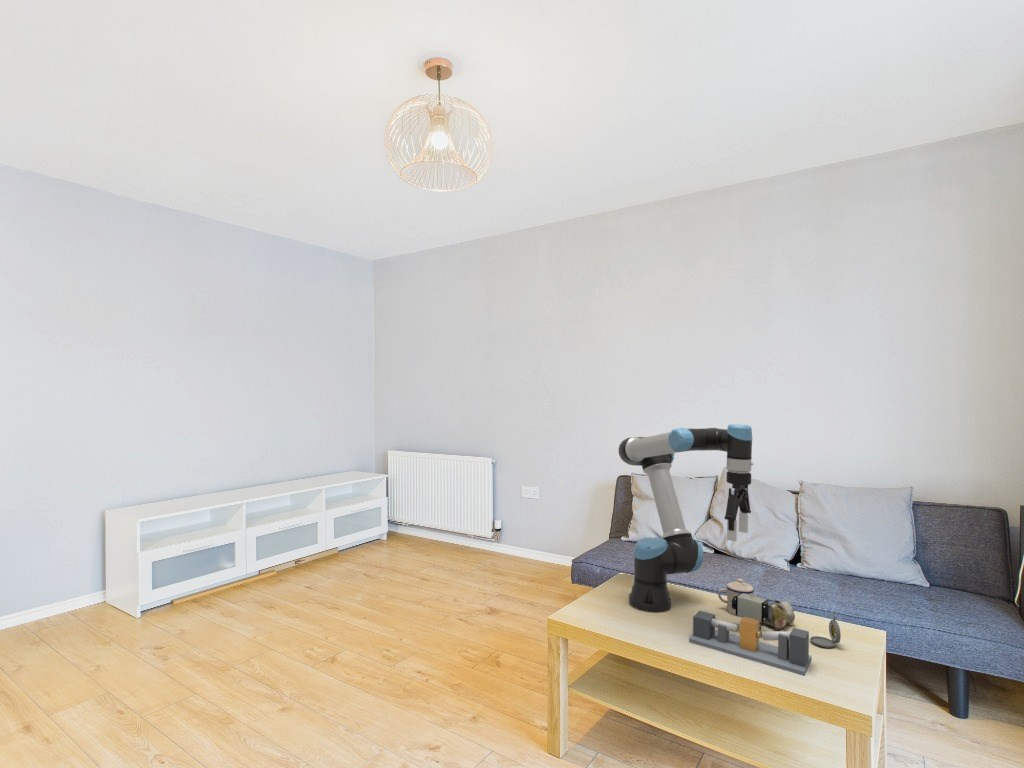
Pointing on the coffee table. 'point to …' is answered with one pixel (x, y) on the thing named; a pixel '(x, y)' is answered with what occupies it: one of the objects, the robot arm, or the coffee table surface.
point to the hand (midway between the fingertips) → (737, 536)
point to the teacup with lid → (735, 592)
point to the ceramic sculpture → (781, 615)
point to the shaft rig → (766, 653)
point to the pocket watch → (834, 635)
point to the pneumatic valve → (752, 607)
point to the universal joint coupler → (749, 634)
